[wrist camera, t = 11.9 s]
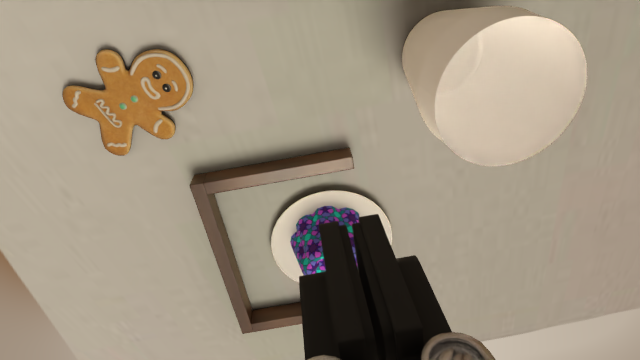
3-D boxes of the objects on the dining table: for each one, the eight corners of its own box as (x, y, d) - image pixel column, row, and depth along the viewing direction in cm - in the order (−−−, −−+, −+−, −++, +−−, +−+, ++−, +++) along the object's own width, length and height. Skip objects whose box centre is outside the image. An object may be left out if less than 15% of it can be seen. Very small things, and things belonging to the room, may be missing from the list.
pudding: (384, 175, 39) (396, 204, 35) (395, 273, 45) (408, 309, 40) (258, 199, 40) (254, 231, 35) (285, 293, 45) (285, 332, 41)
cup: (485, 105, 37) (565, 166, 26) (382, 108, 36) (422, 171, 26) (507, -8, 33) (612, 11, 22) (391, -7, 32) (443, 12, 21)
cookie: (44, 87, 33) (147, 18, 31) (51, 84, 33) (151, 16, 31) (120, 169, 36) (216, 111, 34) (124, 164, 37) (218, 108, 35)
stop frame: (244, 319, 47) (242, 334, 45) (193, 174, 38) (189, 185, 36) (370, 297, 47) (374, 311, 45) (349, 147, 38) (352, 156, 36)
